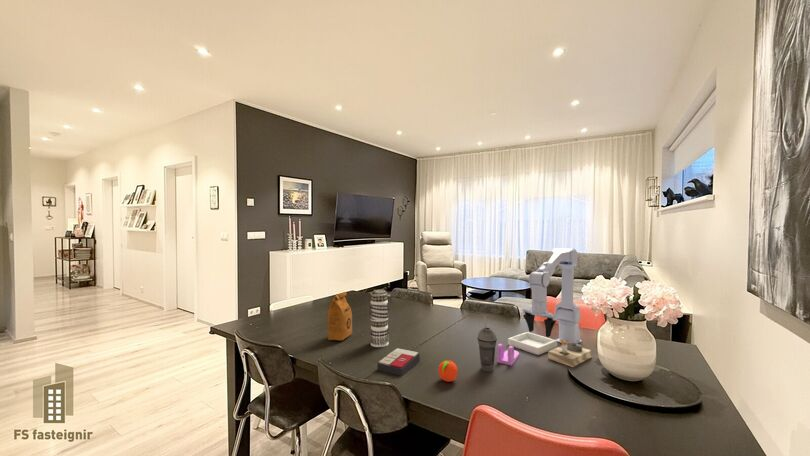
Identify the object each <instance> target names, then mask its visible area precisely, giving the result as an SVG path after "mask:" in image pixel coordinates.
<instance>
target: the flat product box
mask: <svg viewBox="0 0 810 456" xmlns="http://www.w3.org/2000/svg"><path fill="white" fill-rule="evenodd" d="M420 356H421V354H420V352H418V351H413V350H407V349H402V348H398V347H397V348H396V349H394V350H393V351H391V352H390V353H388V354H387V355H386V356H384V357H383V358H382V359H380V360H379V361H378V362H377V370H378V371H381V372H384V373H389V374H392V375H397V376H400V377H403V376H404V375H405V374H407V372H409V371H410V370H411V369H413V367H414V366H416V365H417V364H419V363H420V362H421V357H420Z"/></svg>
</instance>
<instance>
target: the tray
mask: <svg viewBox="0 0 810 456" xmlns="http://www.w3.org/2000/svg"><path fill="white" fill-rule="evenodd" d="M507 345H508V346H513V347H514V348H516V349H519V350H521V351H524V352H528V353H531V354H534V355H536V356H539V355H542V354H544V353H547V352H548V351H550V350H553V349H555V348H557V347H558V342H557V340H556V339H553V338H550V337H546V336H543V335H540V334H537V333H533V332H529V331H526V332H523V333H520V334H516V335H513V336H512V337H508V338H507Z"/></svg>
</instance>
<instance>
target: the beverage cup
mask: <svg viewBox="0 0 810 456" xmlns="http://www.w3.org/2000/svg"><path fill="white" fill-rule="evenodd" d="M483 319H484V328H481V329H480V331H479V332H478V334H477V343H478V350H479V360H480V368H481V371H484V372H493V371H494V367H495V357H496V355H495V354H496V346H497V335H496V332H495V331H494V330H493V329H492V328H490V327H487V318H486V315H483Z"/></svg>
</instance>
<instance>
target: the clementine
mask: <svg viewBox="0 0 810 456" xmlns="http://www.w3.org/2000/svg"><path fill="white" fill-rule="evenodd" d="M437 371H438V376H439V377H440V379H442V380H443V382H447V383H449V382H453V381H455V379H457V377H458V374H459V373H458V372H459V370H458V366H457V365H456V363H454V362H453V361H452V360H450V359H449V360H443V361H442V362H441V363H440V364H439V366H438V370H437Z"/></svg>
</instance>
